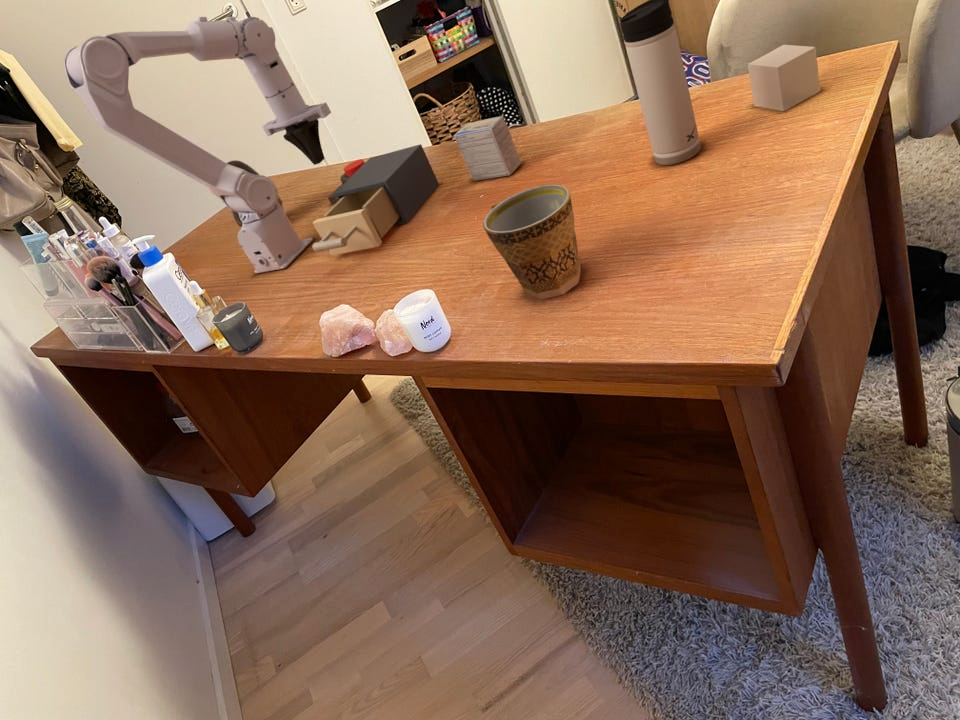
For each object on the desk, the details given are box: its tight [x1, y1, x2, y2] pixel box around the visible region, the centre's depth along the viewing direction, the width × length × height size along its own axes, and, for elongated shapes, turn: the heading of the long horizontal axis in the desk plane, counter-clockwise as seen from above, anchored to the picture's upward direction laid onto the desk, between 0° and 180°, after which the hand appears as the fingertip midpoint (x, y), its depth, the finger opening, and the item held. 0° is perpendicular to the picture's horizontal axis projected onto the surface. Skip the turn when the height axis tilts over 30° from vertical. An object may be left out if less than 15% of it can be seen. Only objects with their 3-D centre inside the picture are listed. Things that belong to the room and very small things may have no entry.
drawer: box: [312, 185, 400, 256], centre depth 112 cm, size 17×10×6 cm, turn 157°
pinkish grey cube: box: [747, 44, 821, 112], centre depth 93 cm, size 6×6×6 cm
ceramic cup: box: [482, 184, 582, 300], centre depth 78 cm, size 13×10×10 cm
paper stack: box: [453, 115, 522, 182], centre depth 114 cm, size 8×4×9 cm, turn 58°
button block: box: [327, 161, 367, 206], centre depth 139 cm, size 12×10×4 cm
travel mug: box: [619, 0, 702, 166], centre depth 89 cm, size 6×7×20 cm
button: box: [343, 159, 366, 177], centre depth 138 cm, size 4×4×2 cm
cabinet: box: [334, 143, 440, 227], centre depth 119 cm, size 13×11×8 cm
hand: (319, 161), depth 126 cm, fingers closed
